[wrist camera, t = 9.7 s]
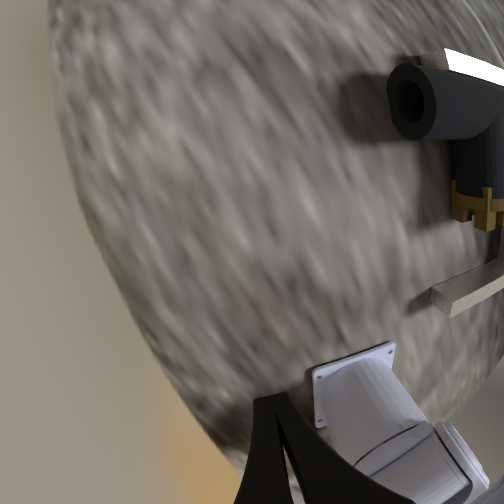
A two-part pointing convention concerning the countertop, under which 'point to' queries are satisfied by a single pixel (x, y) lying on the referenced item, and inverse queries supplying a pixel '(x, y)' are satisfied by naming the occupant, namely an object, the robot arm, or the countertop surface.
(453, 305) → the aluminium bracket
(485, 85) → the pipe connector
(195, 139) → the countertop surface
